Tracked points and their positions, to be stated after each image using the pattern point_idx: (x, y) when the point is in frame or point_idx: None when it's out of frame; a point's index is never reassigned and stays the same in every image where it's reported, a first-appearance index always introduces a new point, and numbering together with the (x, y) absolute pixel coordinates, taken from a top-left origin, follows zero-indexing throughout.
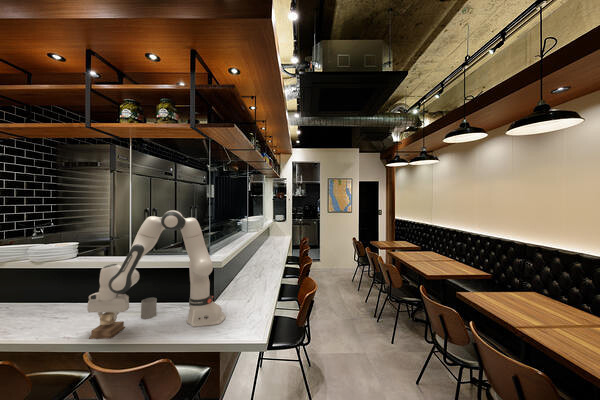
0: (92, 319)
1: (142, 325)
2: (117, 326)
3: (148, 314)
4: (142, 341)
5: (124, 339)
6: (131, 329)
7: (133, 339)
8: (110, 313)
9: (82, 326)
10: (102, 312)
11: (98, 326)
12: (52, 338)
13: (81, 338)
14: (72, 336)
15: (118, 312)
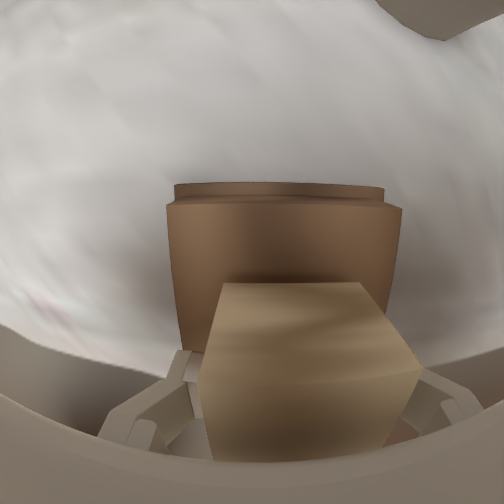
0: (10, 73)
1: (472, 158)
2: (382, 308)
3: (464, 30)
4: (493, 348)
5: (431, 349)
6: (434, 219)
7: (467, 342)
8: (347, 444)
9: (10, 170)
10: (161, 436)
11: (185, 325)
12: (10, 312)
13: (136, 340)
14: (62, 306)
15: (463, 408)
